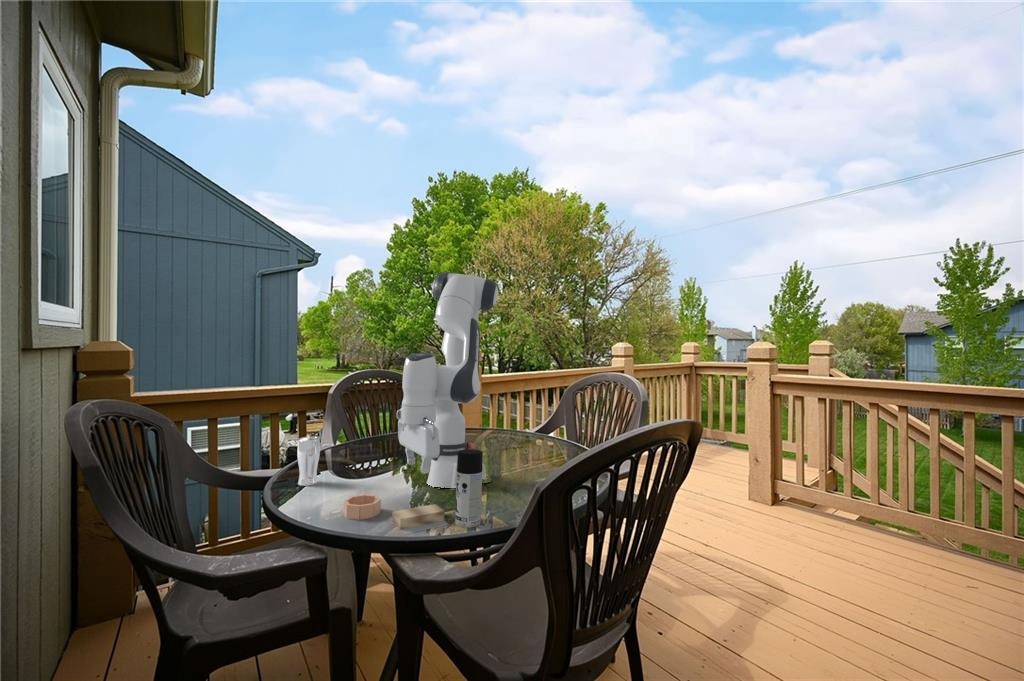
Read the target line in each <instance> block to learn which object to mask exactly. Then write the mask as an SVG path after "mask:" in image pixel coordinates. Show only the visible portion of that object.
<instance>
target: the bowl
mask: <svg viewBox="0 0 1024 681" xmlns="http://www.w3.org/2000/svg"><path fill="white" fill-rule="evenodd" d="M381 501H382V499H381V498H380V497H379V495H376V494H375V495H374V494H366V493H365V494H358V495H352V496H350V497H349V496H348V498H345V499H344V500H343V512H342V513H343V515H344V517H345V518H346V519H347V520H356V521H359V520H360V521H361V520H365V519H366V520H367V519H372V518H374V517H375V518H376V516H378V515H379V514H380V513H381V505H382V502H381Z"/></svg>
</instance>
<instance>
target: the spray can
mask: <svg viewBox="0 0 1024 681" xmlns="http://www.w3.org/2000/svg"><path fill="white" fill-rule="evenodd" d="M483 453H484V452H483V451H482V450H479V449H470V448H469V449H466V450H460V451H458V459H457V485H456V489H455V490H456V491H455V517H454V518H455V522H454V523H455V525H456V526H458V527H459V528H475V527H477V526H480V524H481V523H482V522H481V521H482V494H483V491H482V490H483V489H482V488H483V485H482V468H483V464H484V461H483V460H484V458H483V457H484V456H483V455H484V454H483Z"/></svg>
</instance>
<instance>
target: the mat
mask: <svg viewBox="0 0 1024 681" xmlns="http://www.w3.org/2000/svg"><path fill="white" fill-rule="evenodd" d="M388 519H389V520H390V522H392V516H391V517H388ZM445 526H450V524H449V523H448V522H447V521H446V520H444V521H441V522H436V523H431V524H426V525H421V526H416V527H411V528H406V529H401V530H400V532H401V533H402V534H404V535H407V534H412V533H416V532H421V531H427V530H431V529H434V528H435V529H436V528H440V527H445Z"/></svg>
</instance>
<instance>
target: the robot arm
mask: <svg viewBox="0 0 1024 681" xmlns="http://www.w3.org/2000/svg"><path fill="white" fill-rule="evenodd" d="M431 290H432V296H433V298H434V299H435V301H437V305H436V308H435V320H436V322H437V325H438V326H439V328H440V329H441V330H443V331H444V333H443V338H442V343H441V352H442V354H443V356H444V358H445V365H442V364H438V363H437V362H436V357H435V355H434V354H432V353H431V352H419V353H413V354H410V355H408V356H407V357H406V358H405V360H404V365H403V373H402V386H401V387H402V392H403V398H402V402H401V408H400V409H398V410H396V419H397V420H398V421H397V432H398V433H397V437H398V441H399V445H401V446H403V447H405V450H404V451H405V454H406V463H407V464H408V465H409V466H412V465H416V457H415V453H416V454H417V455H419V456H420V457H421V460H422V461H421V465H420V466H419V467H420V468H419V469H420V470H419V472H420V473H422V474H423V475H424V474H428V477H427V480H426V484H428V486H429V485H430V486H429V487H431V486H432V487H431V488H434V487H441V488H444V487H445V488H456V485H457V459H458V451H460V450H466V449H474V448H475V447H476V445H475V443H474V442H473V443H472V442H468V441H466V418H465V416H464V414H463V413H462V412H461V410H460V406H459V404H467V403H472V402H474V401H475V400H476V399H477V398H478V396H479V394H480V391H481V381H480V368H479V367H480V348H481V347H480V346H481V330H480V326H479V310H480V313H481V314H480V315H484V314H485V312H487V311H490V310H491V309H493V308H494V305H495V304H496V303H497V301H498V298H499V297H498V296H499V289H498V285H497V283H496V281H494V280H492V279H490V278H484V277H480V276H476V275H472V274H463V273H454V272H452V273H450V272H447V271H445V272H444V271H443V272H439V273H438V274H437V275H436V276H435V279H434V280H433V282H432V289H431ZM474 450H475V449H474ZM486 474H487V473H486V467H485V464H484V463H483V468H482V479H485V478H486Z"/></svg>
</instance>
